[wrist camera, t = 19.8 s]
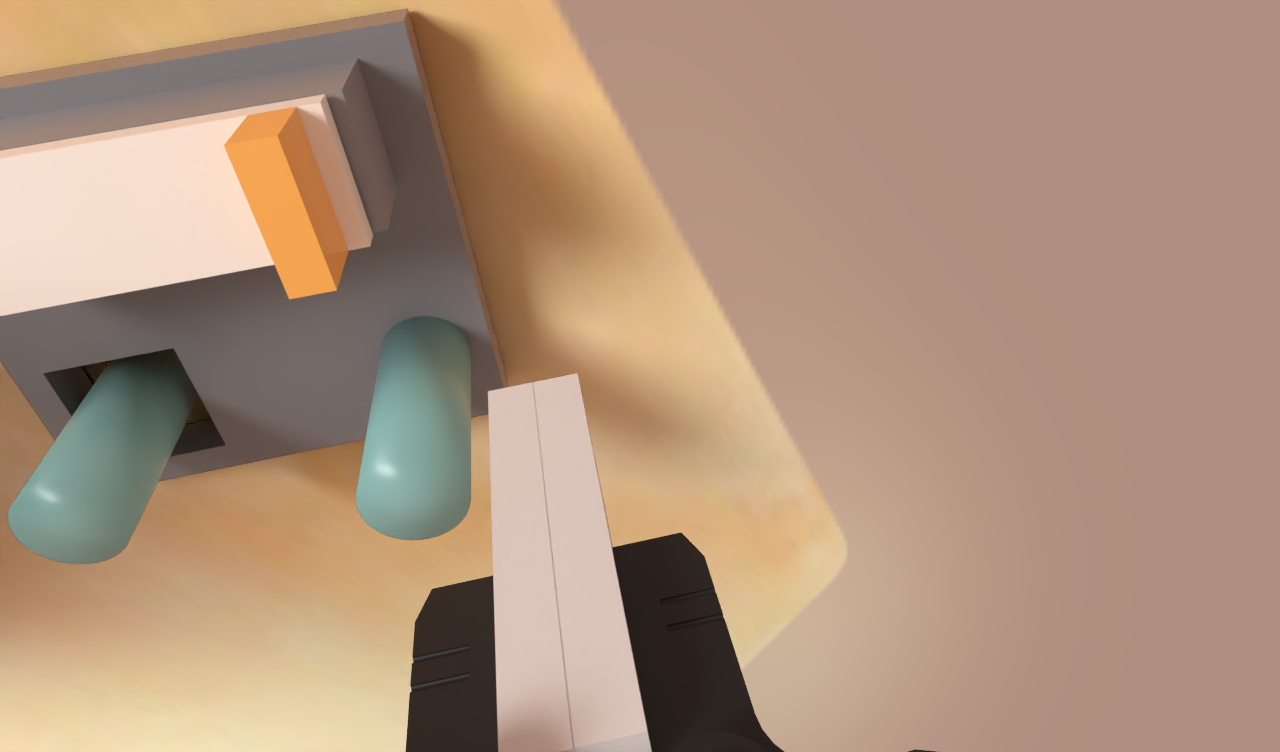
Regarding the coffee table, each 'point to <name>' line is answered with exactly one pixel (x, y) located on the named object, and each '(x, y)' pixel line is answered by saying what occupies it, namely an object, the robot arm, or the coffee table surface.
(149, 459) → the peg
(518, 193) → the coffee table surface
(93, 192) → the lid
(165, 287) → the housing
